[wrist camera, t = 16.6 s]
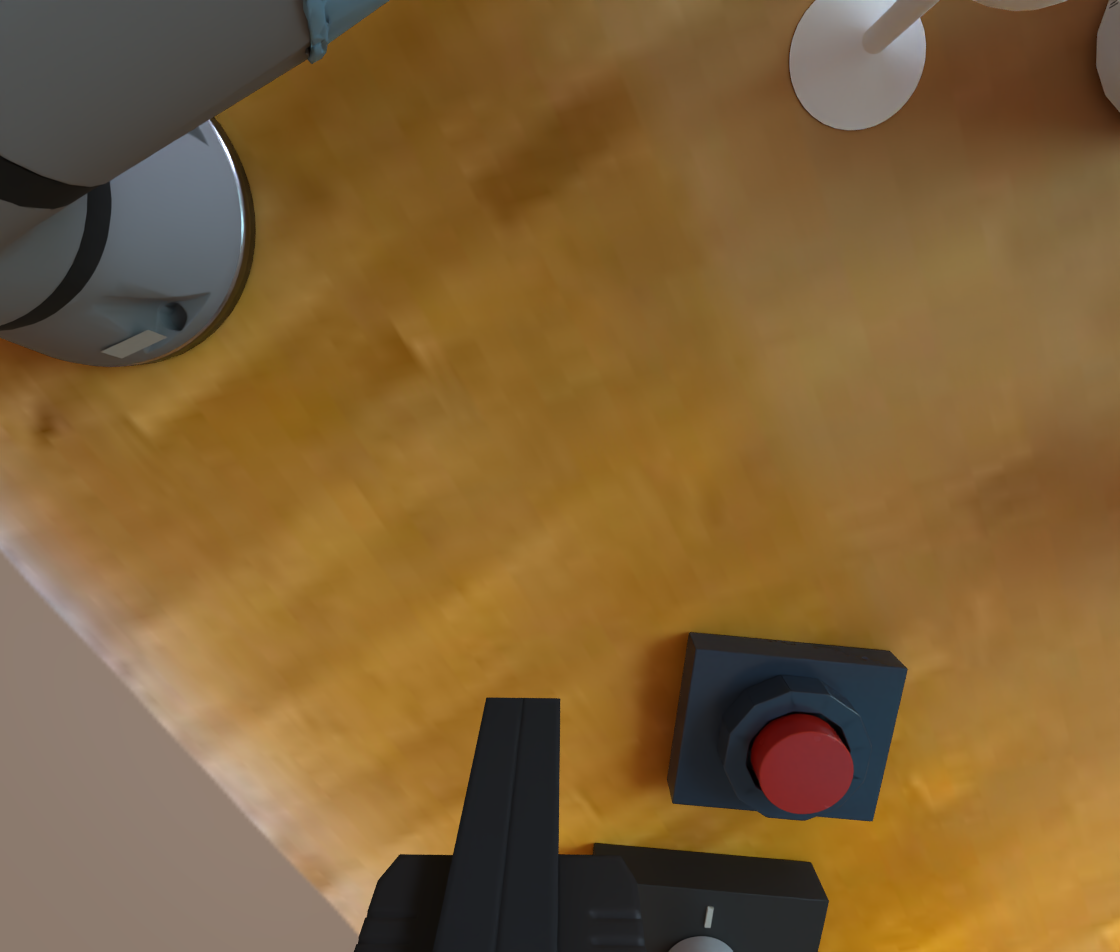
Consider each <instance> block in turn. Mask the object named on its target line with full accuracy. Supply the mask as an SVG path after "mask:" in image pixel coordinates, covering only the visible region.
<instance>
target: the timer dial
mask: <svg viewBox="0 0 1120 952" xmlns="http://www.w3.org/2000/svg"><path fill="white" fill-rule="evenodd" d="M669 952H733V950H732V949H731V948H730V947H729V946H728V945H727V944H725V943H724V942H722V941H720V940H718V939H715V938H712V937H706V936H697V937H691V938H687V939H685V940H682V941H680V942H679V943H677V944H676V945H674V946H673V947H672V948H671V949H670V950H669Z"/></svg>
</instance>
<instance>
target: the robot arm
mask: <svg viewBox="0 0 1120 952" xmlns="http://www.w3.org/2000/svg"><path fill="white" fill-rule="evenodd" d="M388 1H389V0H0V338H2V339H5V340H8V341H10V342H13V343H16V344H18V345H21V346H24V347H26V348H29V349H31V350H34V351H37V352H39V353H42V354H45V355H48V356H50V357H53V358H57V359H60V360H64V361H69V362H73V363H80V364H85V365H92V366H102V367H120V366H134V365H144V364H150V363H156V362H160V361H164V360H167V359H170V358H173V357H175V356H178V355H181V354H183V353H185V352H186V351H188V350H190V349H192V348H194V347H195V346H197V345H198V344H200V343H201V342H203V341H204V340H205V339H207V338H208V337H209V336H210V335H211V334H213V333H214V332H215V331H216V330H217V329H218V328H219V327H220V326H221V325H222V323H223V322H224V321H225V320H226V318H227V317H228V316H229V315H230V313H231V312H232V310H233V309H234V307H235V305H236V304H237V302H238V300H239V298H240V296H241V294H242V292H243V290H244V288H245V285H246V282H247V279H248V277H249V274H250V269H251V265H252V261H253V255H254V248H255V213H254V206H253V199H252V195H251V191H250V187H249V183H248V180H247V177H246V174H245V171H244V168H243V166H242V163H241V161H240V159H239V156H238V154H237V152H236V150H235V148H234V146H233V145H232V143H231V141H230V139H229V138H228V136H227V134H226V133H225V131H224V130H223V128H222V127H221V125H220V124H219V123H218V121H217V120H216V119H215V118H214V116H216V115H218V114H219V113H221V112H223V111H224V110H226V109H227V108H229V107H231V106H232V105H234V104H235V103H237V102H239V101H240V100H242V99H244V98H245V97H247V96H248V95H250V94H252V93H253V92H255V91H257V90H258V89H260V88H261V87H263V86H265V85H266V84H268V83H270V82H271V81H273V80H274V79H276V78H278V77H279V76H281V75H283V74H284V73H286V72H287V71H289V70H291V69H292V68H294V67H296V66H297V65H299V64H300V63H302V62H304V61H305V60H307V59H308V60H309V62H310V63H311V64H313V63H314V62H316V61H318V60H320V59H322V57H323V56H324V55H325V53H326V51H327V45H328V44H329V43H330V42H331V41H333V40H334V39H336V38H337V37H338V36H340V35H341V34H343V33H344V32H345V31H347V30H348V29H350V28H351V27H353V26H354V25H355V24H357V23H358V22H360V21H361V20H362V19H364V18H365V17H367V16H368V15H369V14H371V13H372V12H374V11H375V10H376V9H378V8H379V7H381V6H382V5H383V4H385V3H386V2H388ZM559 762H560V699H557V698H486V702H485V707H484V712H483V716H482V721H481V726H480V731H479V735H478V740H477V745H476V749H475V754H474V759H473V764H472V768H471V773H470V778H469V782H468V787H467V792H466V796H465V801H464V806H463V811H462V815H461V820H460V825H459V829H458V834H457V839H456V844H455V848H454V853H453V855H405V854H400V855H399V856H398V857H397V858H396V860H395V861H394V862H393V863H392V864H391V866H390V867H389V868H388V869H387V870H386V872H385V873H384V874H383V875H382V876H381V877H380V879H379V880H378V882H377V885H376V888H375V891H374V894H373V897H372V900H371V903H370V906H369V909H368V913H367V918H365V920H364V923H363V926H362V929H361V932H360V935H359V941H358V944H357V945H356V947H355V950H354V952H646V946H645V939H644V931H643V923H642V919H641V908H640V900H639V893H638V885H637V881H636V879H635V878H634V876H633V874H632V873H631V871H630V870H629V868H628V866H627V865H626V863H625V862H624V860H623V858H622V857H621V855H563V854H558V848H559Z"/></svg>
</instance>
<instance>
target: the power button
mask: <svg viewBox="0 0 1120 952" xmlns="http://www.w3.org/2000/svg"><path fill="white" fill-rule="evenodd" d="M751 764H752V767H753V770H754V773H755V775H756V777H757V780H758V782H759V784H760V787H761V789H762V791H763V793H764V795H765V796H766V797H767V799H768V800H769V801H770V802H771V803H773V804H774V805H775V806H777V807H778V808H780V809H782V810H784V811H787V812H790V813H795V814H811V813H816V812H820V811H823V810H825V809H827V808H829V807H831V806H833V805H834V804H835V803H837V802H838V801H839V800H840V799H841V798H842V797H843V796H844V795H845V793H846V792H847V790H848V789H849V787H850V785H851V782H852V779H853V773H854V770H853V760H852V757H851V755H850V753H849V751H848V749H847V748H846V746H845V745H844V743H843V742H842V740H841V739H840V737H839V736H838V734H837V733H836V732H835V730H834V729H833V728H832V727H831V726H830V725H829V724H828V723H827V722H826V721H824V720H822V719H820V718H818V717H816V716H812V715H809V714H789V715H785V716H782V717H779V718H777V719H775V720H773V721H772V722H770V723H769V724H767V725H766V726H765V727H764V728H763V729H762V730H761V731H760V732H759V734H758V735H757V737H756V738H755V740H754V743H753V746H752V749H751Z"/></svg>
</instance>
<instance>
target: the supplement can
mask: <svg viewBox="0 0 1120 952" xmlns="http://www.w3.org/2000/svg"><path fill="white" fill-rule="evenodd" d="M1096 68H1097V71H1098V74H1099V77H1100V80H1101V83H1102V86H1103V90H1104V93H1105V96H1106V97H1107V98H1108V99H1109V100H1110V101H1111V103H1112V104H1113V105H1114V106H1115V107H1116V109H1117V110H1118V111H1119V112H1120V0H1109V1H1108V4H1107V7H1106V10H1105V13H1104V16H1103V19H1102V21H1101V24H1100V27H1099V30H1098V33H1097V56H1096Z"/></svg>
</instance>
